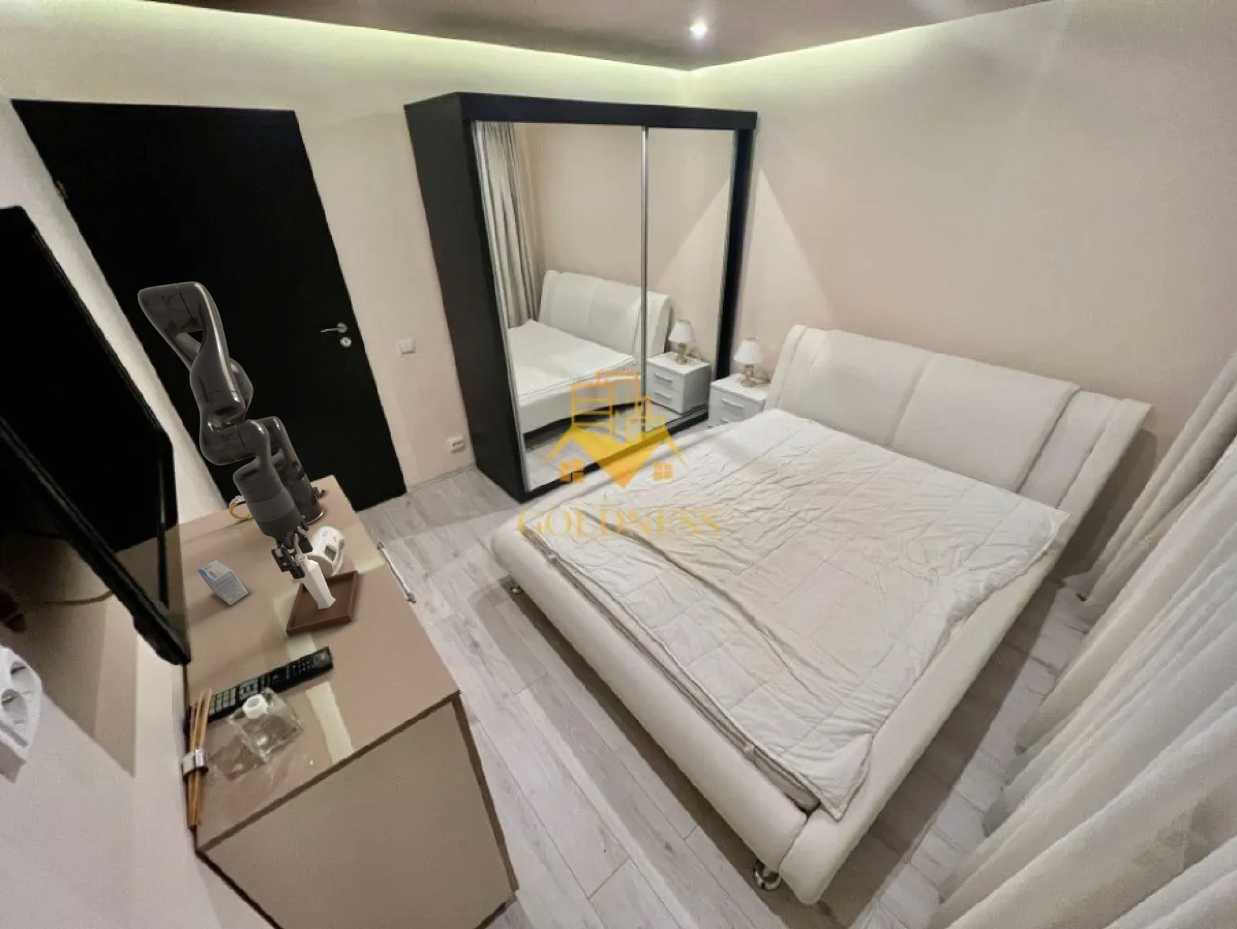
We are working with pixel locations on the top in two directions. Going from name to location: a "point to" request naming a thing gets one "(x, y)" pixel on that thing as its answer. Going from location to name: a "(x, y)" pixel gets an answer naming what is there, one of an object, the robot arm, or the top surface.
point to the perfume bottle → (315, 582)
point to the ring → (231, 506)
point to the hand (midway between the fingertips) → (304, 564)
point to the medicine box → (223, 582)
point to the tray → (312, 618)
